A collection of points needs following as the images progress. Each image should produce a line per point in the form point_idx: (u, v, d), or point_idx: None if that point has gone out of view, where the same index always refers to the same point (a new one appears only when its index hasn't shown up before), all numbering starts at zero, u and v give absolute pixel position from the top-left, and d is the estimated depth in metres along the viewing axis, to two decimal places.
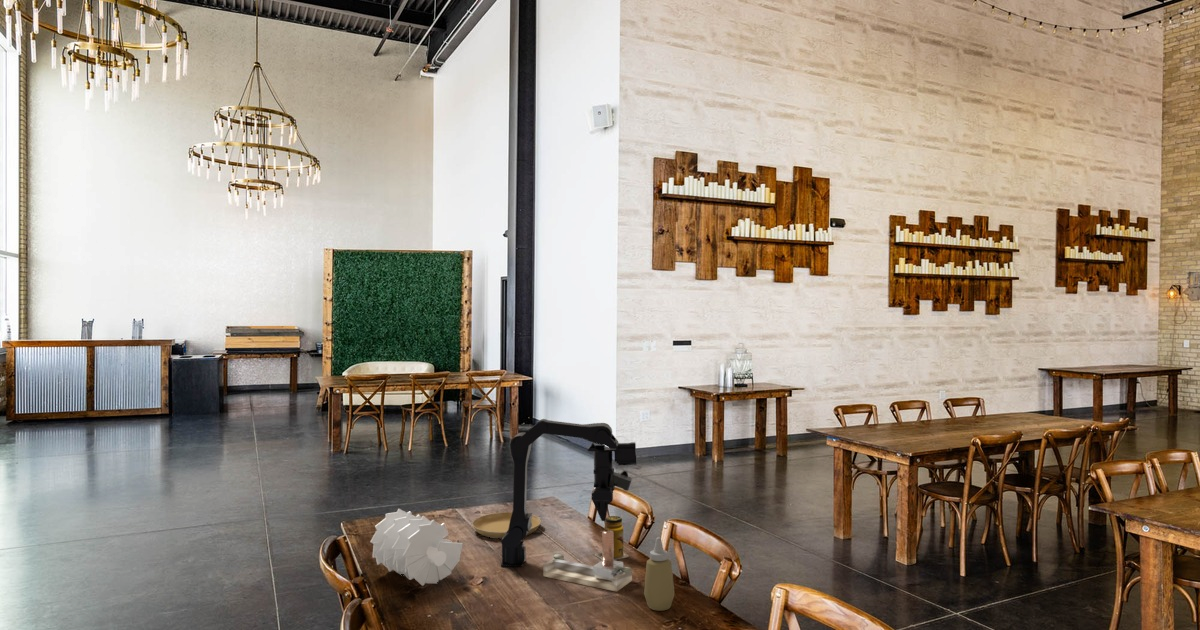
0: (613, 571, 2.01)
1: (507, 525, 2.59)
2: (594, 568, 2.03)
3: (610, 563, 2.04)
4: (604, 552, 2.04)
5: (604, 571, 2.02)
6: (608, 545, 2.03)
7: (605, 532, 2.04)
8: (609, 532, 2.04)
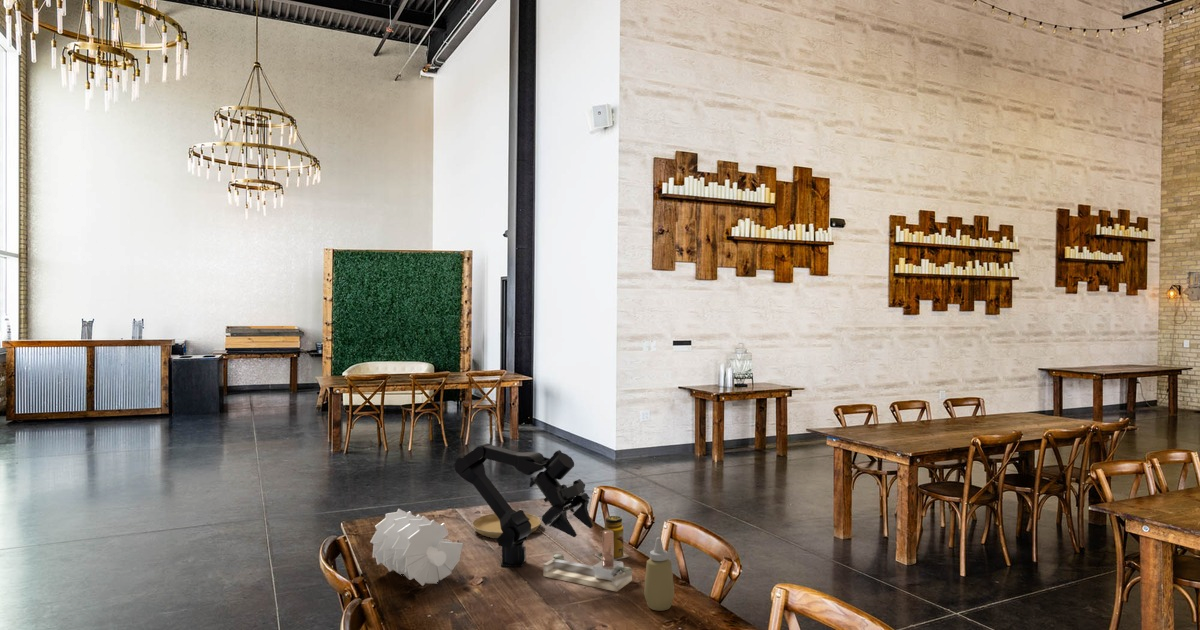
0: (613, 571, 2.01)
1: None
2: (594, 568, 2.03)
3: (610, 563, 2.04)
4: (604, 552, 2.04)
5: (604, 571, 2.02)
6: (608, 545, 2.03)
7: (605, 532, 2.04)
8: (609, 532, 2.04)
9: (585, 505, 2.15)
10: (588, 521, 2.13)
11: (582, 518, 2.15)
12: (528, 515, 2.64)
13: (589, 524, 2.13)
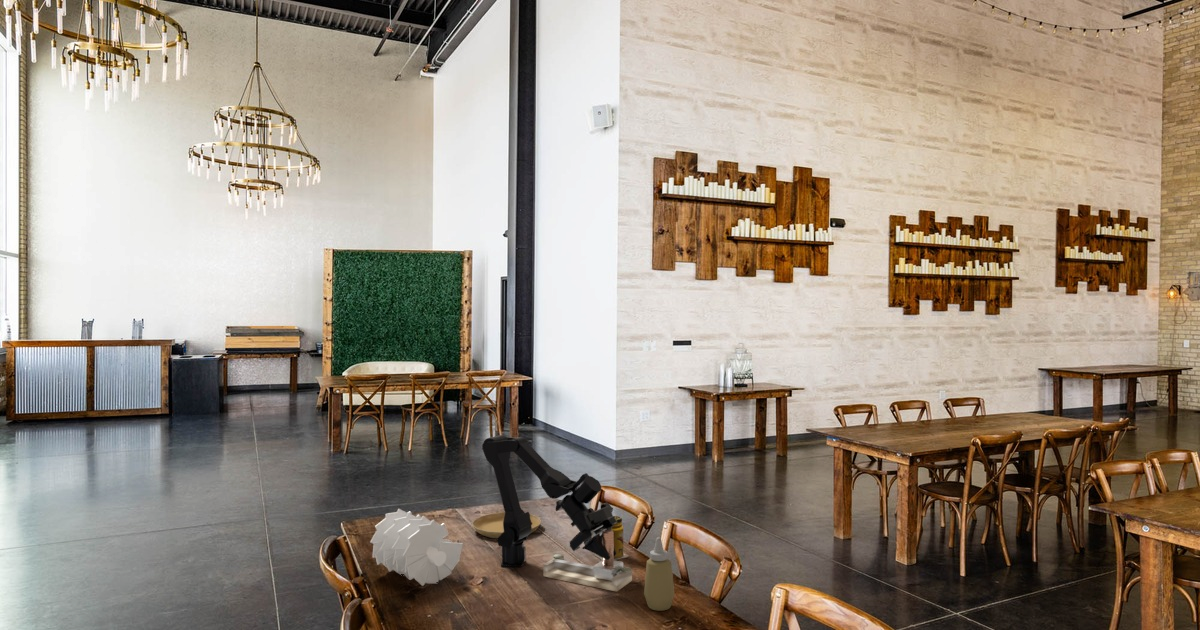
0: (613, 571, 2.01)
1: None
2: (594, 568, 2.03)
3: (610, 563, 2.04)
4: None
5: (604, 571, 2.02)
6: (608, 545, 2.03)
7: (605, 532, 2.04)
8: (609, 532, 2.04)
9: None
10: None
11: None
12: None
13: None
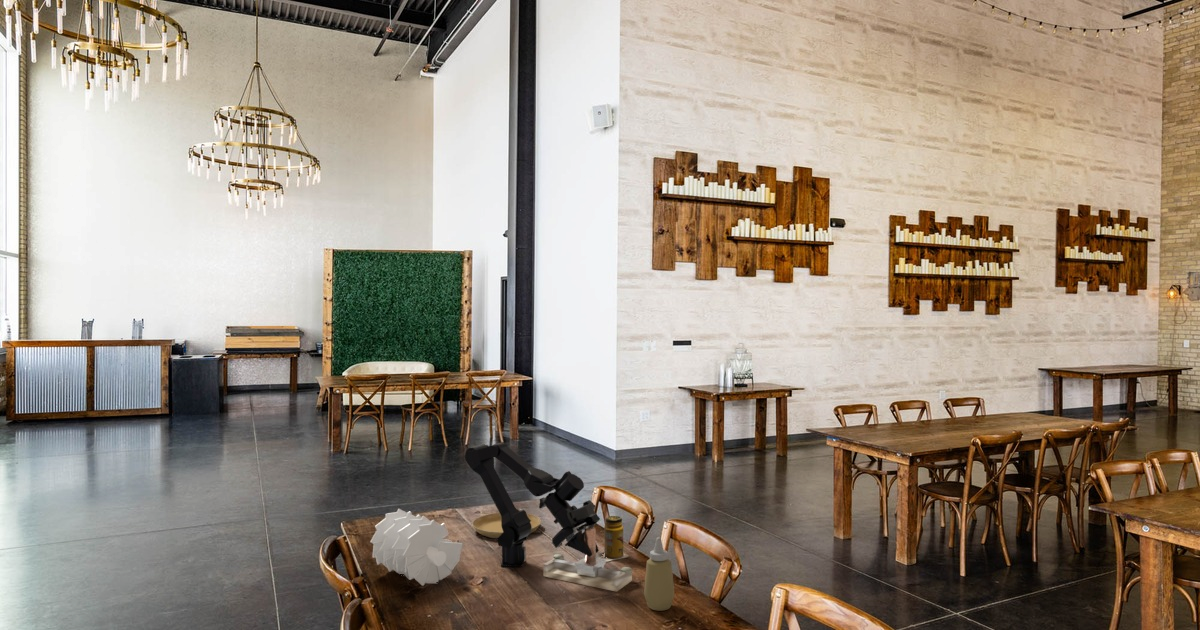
0: (595, 567, 2.04)
1: None
2: (576, 565, 2.06)
3: (592, 560, 2.06)
4: None
5: (586, 567, 2.04)
6: (591, 541, 2.06)
7: (587, 529, 2.07)
8: (591, 529, 2.07)
9: None
10: None
11: None
12: (528, 515, 2.64)
13: None
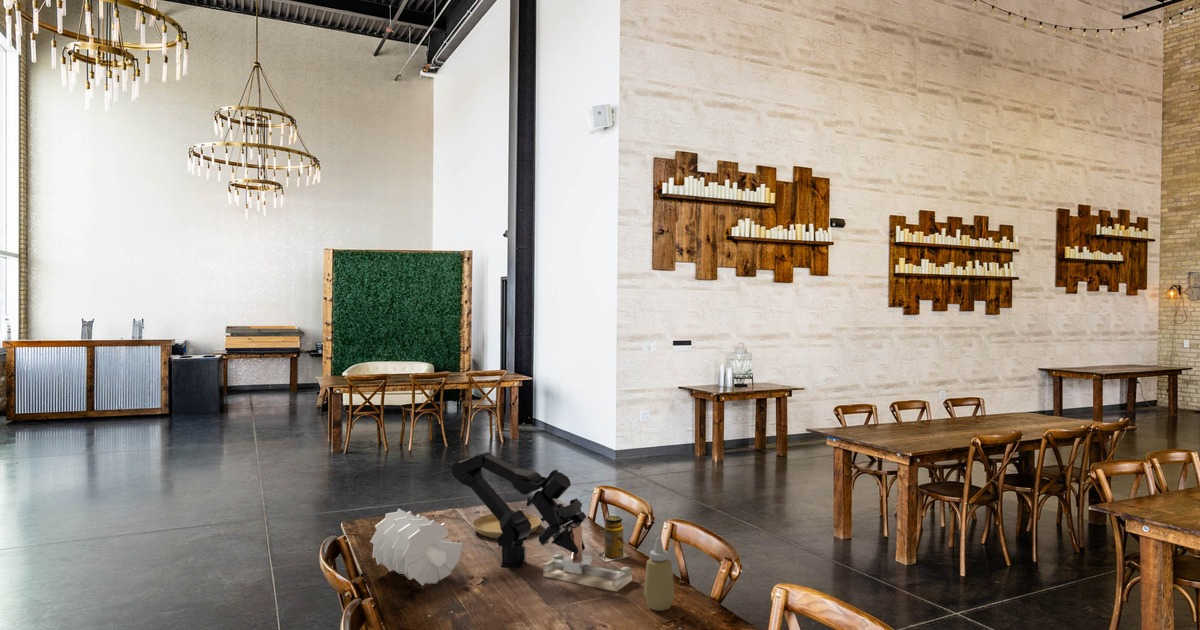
0: (581, 565, 2.07)
1: None
2: (563, 562, 2.08)
3: (578, 557, 2.09)
4: None
5: (572, 565, 2.07)
6: (577, 539, 2.08)
7: (574, 527, 2.10)
8: (578, 527, 2.10)
9: None
10: None
11: None
12: (528, 515, 2.64)
13: None
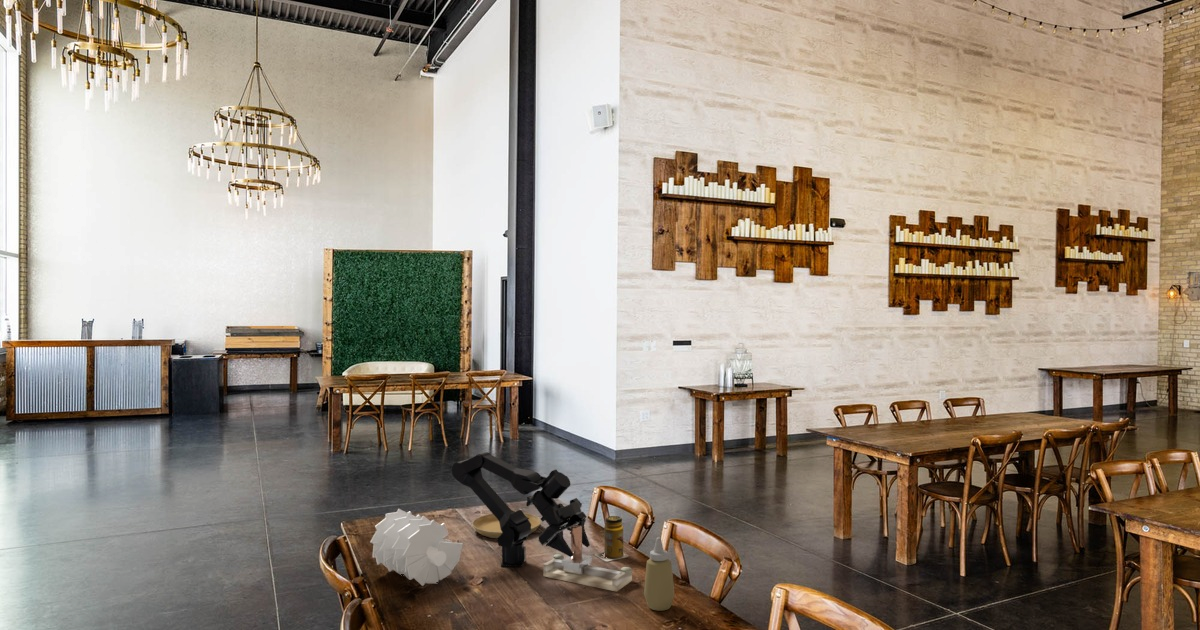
0: (581, 565, 2.07)
1: None
2: (563, 562, 2.08)
3: (578, 557, 2.09)
4: (572, 546, 2.09)
5: (572, 565, 2.07)
6: (577, 539, 2.08)
7: (574, 527, 2.10)
8: (577, 527, 2.10)
9: (582, 524, 2.16)
10: (585, 540, 2.14)
11: None
12: (528, 515, 2.64)
13: (586, 543, 2.14)
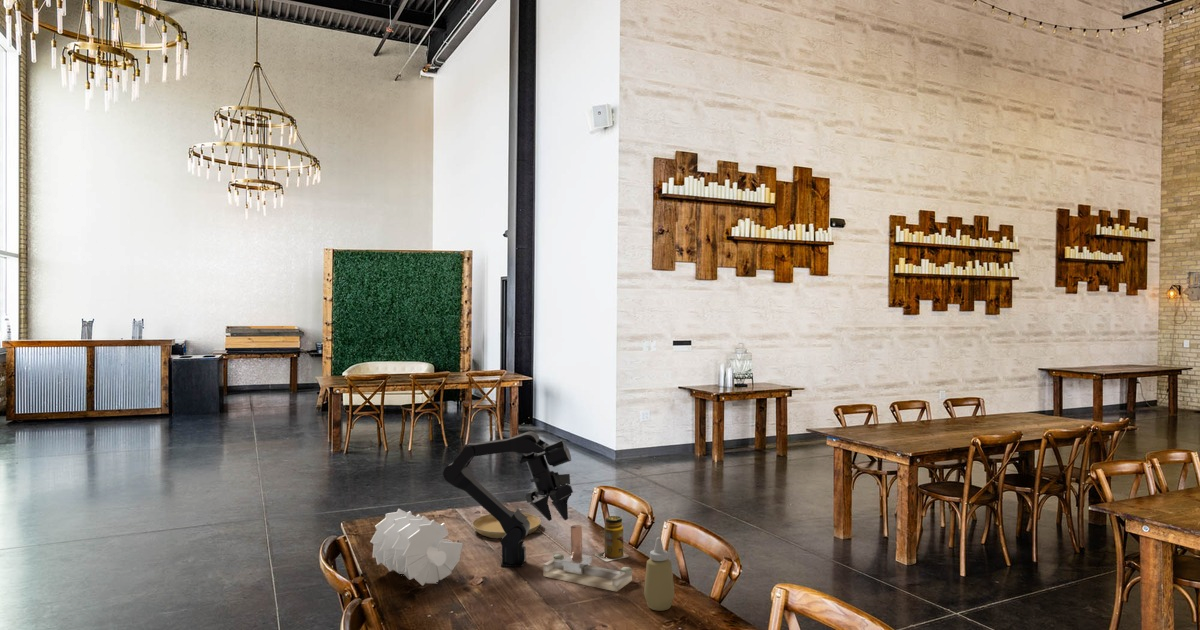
0: (581, 565, 2.07)
1: None
2: (563, 562, 2.08)
3: (578, 557, 2.09)
4: (572, 546, 2.09)
5: (572, 565, 2.07)
6: (577, 539, 2.08)
7: (574, 527, 2.10)
8: (577, 527, 2.10)
9: None
10: (549, 513, 2.24)
11: (543, 509, 2.23)
12: (528, 515, 2.64)
13: (549, 516, 2.24)
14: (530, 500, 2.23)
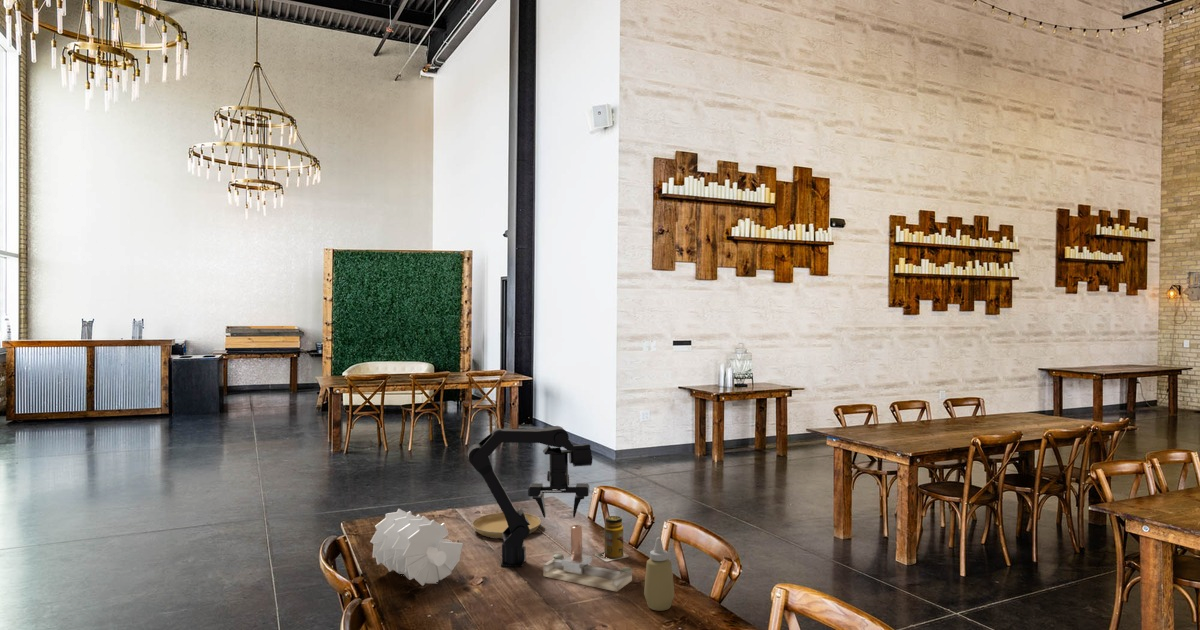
0: (581, 565, 2.07)
1: (507, 525, 2.59)
2: (563, 562, 2.08)
3: (578, 557, 2.09)
4: (572, 546, 2.09)
5: (572, 565, 2.07)
6: (577, 539, 2.08)
7: (574, 527, 2.10)
8: (577, 527, 2.10)
9: None
10: None
11: (543, 505, 2.24)
12: (528, 515, 2.64)
13: (545, 513, 2.25)
14: (537, 494, 2.22)
